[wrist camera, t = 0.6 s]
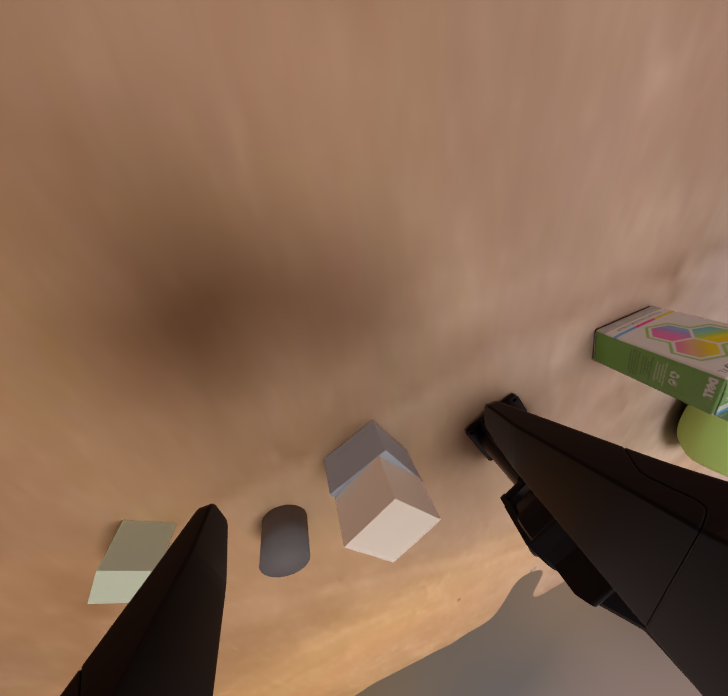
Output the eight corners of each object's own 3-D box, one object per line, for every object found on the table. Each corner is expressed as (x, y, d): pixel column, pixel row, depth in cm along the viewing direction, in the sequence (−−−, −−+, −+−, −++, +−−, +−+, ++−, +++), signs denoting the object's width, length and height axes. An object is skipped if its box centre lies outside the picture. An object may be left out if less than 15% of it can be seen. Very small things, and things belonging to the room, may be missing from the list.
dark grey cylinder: (315, 514, 30) (320, 554, 26) (284, 539, 30) (285, 581, 27) (285, 498, 28) (285, 539, 24) (252, 525, 28) (248, 569, 25)
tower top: (419, 477, 26) (441, 519, 22) (379, 515, 26) (393, 562, 23) (378, 455, 23) (395, 498, 20) (335, 498, 24) (344, 547, 20)
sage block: (176, 522, 26) (159, 570, 22) (165, 551, 27) (148, 601, 23) (123, 518, 24) (96, 570, 21) (114, 549, 25) (87, 604, 22)
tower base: (406, 449, 29) (422, 481, 26) (361, 484, 30) (372, 520, 26) (372, 418, 26) (385, 450, 23) (323, 457, 27) (330, 494, 24)
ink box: (652, 302, 29) (899, 363, 18) (645, 335, 31) (864, 409, 19) (594, 328, 29) (810, 408, 17) (591, 360, 31) (783, 452, 19)
